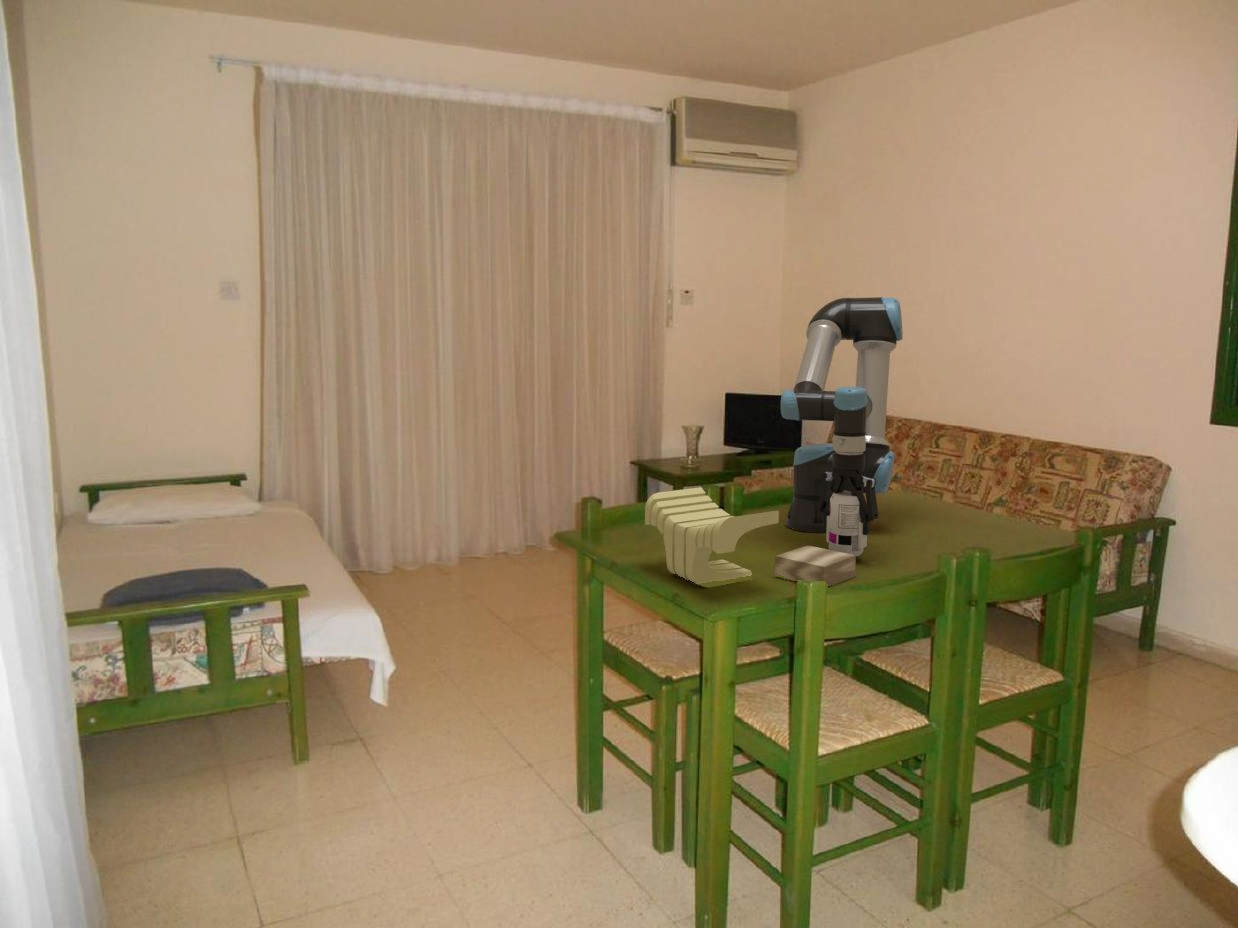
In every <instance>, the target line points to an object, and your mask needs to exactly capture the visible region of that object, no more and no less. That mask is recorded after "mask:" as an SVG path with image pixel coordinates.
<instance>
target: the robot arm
mask: <svg viewBox="0 0 1238 928" xmlns="http://www.w3.org/2000/svg"><path fill="white" fill-rule="evenodd" d="M903 331H904V330H903V318H902V311H901V303H900V302H899V300H898V299H897V298H895V297H883V296H880V297H877V296H876V297H841V298H837V299H834V300H832V301H830V302H828V303H826V304H825V305H824V306H822V307H821V308H820V309H819V310H817V312H816V313H815V314H814V315H812V318H811V319H810V321H809V323H808V325H807V329H806V334H805V335H806V338H807V342H806V344H805V345H806V346H805V350H804V353H803V355H802V358H801V363H800V366H799V368H798V373H797V377H796V380H795V383H794V386H793V388H792V389H786V390H784V391H782V393H781V397H780V414H781V417H782V418H783V419H785V420H795V421H817V422H818V421H820V422H833V443H830V442H826V443H823V442H822V443H813V444H806V445H803V446H800V447H797V449H796V450H795V452H794V457H793V464H792V466H793V485H792V487H793V489H792V490H793V491H792V495H793V496H792V501H791V504H790V507H789V509H788V511H787V512H788V513H787V514H786V515H787V516H786V520H785V521H786V522H785V525H787V526H788V527H789V528H788V527H787V526H786V527H787V528H788V529H790V528H794V529H797V530H801V531H800V532H803V531H805V533H806V532H807V533H826V536H825V541H826V543H829V521H830V498H831V496H832V494H833V492H834V493H840V492H842V491H843V490H847V491H850V492H851V494H852V495H853V496H857V498H858V501H859V513H860V516H861V519H862V521H860V522H859V532H858V548H859V549H862V548H867V544H868V541H867V540H868V535H870V534H871V522H873V521H875V520H878V519H879V517H880V516H879V510H878V502H877V495H882V494H885V493H886V492H887V491H888V489H889V488H890V485H891V481H892V477H893V473H894V467H895V458H896V453H895V452H894V451H891V449H890V447H891V444H890V443H888V442H887V441H886V439H885V436H886V420H887V405H888V393H889V390H888V389H889V378H890V375H889V374H890V363H891V362H890V360H891V358H890V357H891V353H892V351H894V350H895V349H896V348H897V342H900V341H902V340H903V337H904V336H903V335H904V334H903V333H904V332H903ZM841 341H852V347H853V348H854V349H855V350H856V351H857V362H856V374H855V375H856V376H855V386H842V387H838V388H836V389H835V390H825V388H826V383H827V380H828V376H829V371H830V368H831V366H832V365H831V363H832V360H833V357H834V353H835V349H836V346H838V345H839V344H840V343H841ZM864 494H865V495H864ZM797 530H796V531H797Z"/></svg>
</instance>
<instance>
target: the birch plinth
mask: <svg viewBox="0 0 1238 928" xmlns="http://www.w3.org/2000/svg"><path fill="white" fill-rule="evenodd" d="M774 557H775V559H774V561H775V563H774V575H775V574H777V575H781V576H784V577H786V578H789V579H792V580H795V581H798V580H808V581H826V583H827V584H828V585H832V586H834V585H837V584H839V583H842V582H844V581H847V580H849V579H853V578H855V577H856V561H857V559H856V558H857V556H856V555H852V554H847V553H842V552H837V551H833V550H829V548H828V549H826V548H821V547H817V546H812V545H804V546H800V547H797V548H795V549H792V550H788V551H786V552H783V553H780V554H778V555H777V554H776V555H775V556H774Z"/></svg>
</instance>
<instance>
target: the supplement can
mask: <svg viewBox="0 0 1238 928" xmlns="http://www.w3.org/2000/svg"><path fill="white" fill-rule="evenodd" d="M860 521H862V519H861V516H860V513H859V501H858V498H857V496H853V495H852V494H851V492H850V491H847V490H843V491H842V492H840V493H834V492H833V494H832V496H831V498H830V521H829V542H828V550H833V551H837V552H842V553H847V554H852V555H856V557H859V556H860V555H861V554H862V553H863V552H864V550H865V549H864V548H865V547H864V548H862V549H859V548H858V532H859V522H860Z"/></svg>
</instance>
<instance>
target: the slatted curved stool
mask: <svg viewBox="0 0 1238 928" xmlns="http://www.w3.org/2000/svg"><path fill="white" fill-rule="evenodd" d="M779 512H780V510H773V511H771V510H770V511H765V512H764V511H763V512H759V513H751V514H744V515H738V516H737V515H736V516H734V515H731V514H730V513H728V512H726V511H725V510H724V509H722V508H720V506H719V505H718V504H717V503H715V502H713V499H712V498H711V497H710V496H709V495H706V491H705V490H704V489H703V487H701V486H700V487H694V488H684V489H676V490H668V491H660V492H655V493H653V494H652V495H650V496H649V498H648V499H647V501H646V503H645V507H644V526H650V525H651V526H652V527H655V528H656V527H657V530H658V531H659V532H660V534H661V535H663V544H664V549H665V557H666V558H665V559H666V562H665V563H666V567H667V570H668V572H669V573H671V572H672V573H671V574H673V573H674V574H673V575H675V574H678V576H677V577H679V576H680V578H681V577H683V578H685V579H684V580H686V579H687V580H686V581H688V580H690V581H692V582H694V583H696V584H701V583H707V582H712V581H725V580H729V579H736V578H739V577H746V576H751V575H752V576H753V574H752V570H750V569H747V568H745V567H742V566H740V565H737V564H736V563H733V562H732V563H731V561H728V560H725V559H718V560H710V558H711V554H712V553H713V552H714V553H715V554H716V555H719V554H725V553H734V552H735V551H736V550H735V549H736V546H737V543H738V541H739V539H740V538H741V537H742V536H743V535H745V534H746V533H748V532H750V531H753V530H755V529H757V528H761V527H765V526H766V527H767V526H771V525H775V524H779V519H780V518H779V517H780V516H779V515H780V513H779ZM683 578H682V579H683ZM690 581H689V582H690ZM692 582H691V583H692ZM694 583H693V584H694ZM696 584H695V585H696Z"/></svg>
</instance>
